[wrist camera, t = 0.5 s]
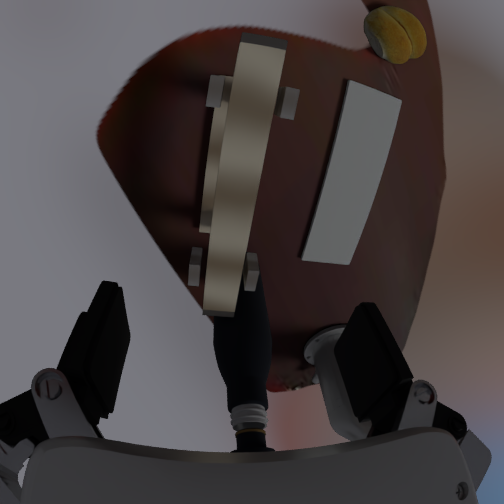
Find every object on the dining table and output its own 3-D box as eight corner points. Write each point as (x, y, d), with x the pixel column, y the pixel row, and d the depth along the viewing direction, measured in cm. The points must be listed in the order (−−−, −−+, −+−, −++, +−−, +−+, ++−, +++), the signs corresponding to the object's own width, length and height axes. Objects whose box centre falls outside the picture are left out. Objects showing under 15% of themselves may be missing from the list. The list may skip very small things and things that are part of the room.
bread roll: (425, 52, 25) (443, 52, 22) (381, 69, 27) (398, 69, 24) (399, 2, 21) (415, -3, 18) (351, 16, 23) (365, 9, 20)
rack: (245, 233, 38) (253, 297, 27) (198, 228, 37) (187, 291, 26) (273, 84, 28) (301, 80, 17) (218, 75, 27) (212, 64, 16)
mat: (347, 262, 43) (348, 264, 42) (300, 257, 41) (301, 260, 41) (399, 100, 29) (401, 100, 29) (347, 80, 28) (350, 80, 27)
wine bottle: (207, 262, 40) (198, 484, 15) (245, 242, 39) (275, 475, 14) (230, 291, 44) (241, 492, 19) (266, 274, 42) (306, 481, 17)
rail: (232, 296, 31) (233, 317, 28) (204, 294, 31) (202, 314, 28) (279, 47, 18) (287, 40, 15) (240, 40, 17) (242, 32, 15)
